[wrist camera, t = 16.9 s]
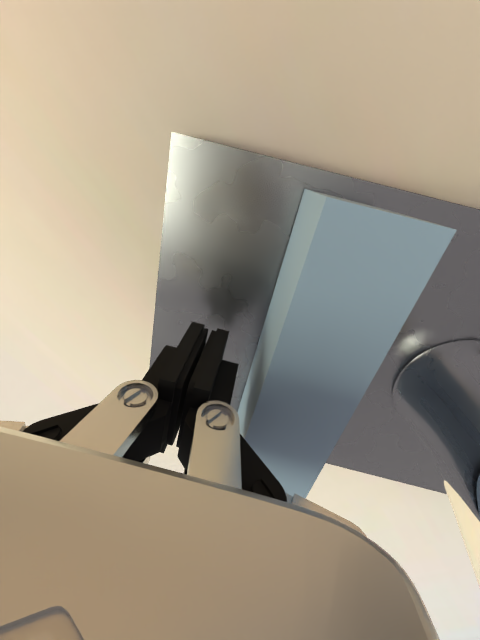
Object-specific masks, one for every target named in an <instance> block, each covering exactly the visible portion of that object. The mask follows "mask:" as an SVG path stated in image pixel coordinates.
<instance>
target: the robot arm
mask: <svg viewBox="0 0 480 640" xmlns="http://www.w3.org/2000/svg"><path fill="white" fill-rule="evenodd" d="M204 327H205V325H204V324H200V323H196V322H192V323H191V324H190V326H189V328H188V329H187V331H186V333H185V334H184V336H183V338H182V340H181V341H180V343H179V345H178V346H177V348H176V347H173V346H169V345H166V346H165V347H164V348H163V350H162V351H161V353H160V354H159V356H158V357H157V359H156V360H155V362H154V363H153V365H152V366H151V367H150V369H149V370H148V372H147V373H146V375H145V376H144V378H143V379H142V380H132V381H127V382H124V383H122V384H120V385H119V386H118V387H116V388H115V389H114V390H113V391H112V392H111V393H110V394H109V395H108V396H107V397H106V398H105V399H104V400H102V401H101V402H100V403H99V404H95V405H92V406H88V407H85V408H81V409H78V410H75V411H71V412H68V413H64V414H61V415H58V416H54V417H51V418H47V419H44V420H41V421H38V422H36V423H33V424H32V425H30V426H25V422H14V421H0V640H439V637H438V634H437V632H436V630H435V628H434V625H433V623H432V621H431V618H430V616H429V614H428V611H427V609H426V607H425V605H424V603H423V601H422V599H421V597H420V595H419V593H418V591H417V589H416V588H415V586H414V584H413V582H412V581H411V579H410V578H409V576H408V575H407V573H406V572H405V570H404V569H403V568H402V567H401V566H400V565H399V564H398V563H397V561H396V560H395V559H394V558H392V557H391V556H390V555H389V554H388V553H387V552H386V551H385V550H384V549H382V548H381V547H380V546H379V545H377V544H376V543H375V542H373V541H372V540H370V539H369V538H367V537H366V535H365V534H364V533H363V532H362V530H361V529H360V528H359V527H358V526H356V525H355V524H353V523H352V522H350V521H348V520H346V519H344V518H342V517H340V516H338V515H337V514H335V513H333V512H331V511H329V510H327V509H325V508H323V507H321V506H319V505H317V504H315V503H313V502H311V501H309V500H307V499H305V498H303V497H301V496H299V495H297V494H295V493H294V495H293V496H291V495H289V494H287V493H285V491H284V489H283V487H282V485H281V484H280V482H279V481H278V480H277V479H276V477H275V476H274V475H273V474H272V472H271V471H270V470H269V469H268V468H267V466H266V465H265V464H264V463H263V461H262V460H261V459H260V458H259V456H258V455H257V454H256V453H255V451H254V450H253V449H252V448H251V447H250V445H249V444H248V443H247V442H246V440H245V439H244V438H243V437H242V435H241V434H240V426H239V416H238V413H237V412H236V410H235V409H234V408H233V407H232V406H231V405H230V404H231V399H232V394H233V390H234V385H235V380H236V375H237V370H238V365H239V364H237V363H233V362H230V361H226V360H222V359H223V355H224V351H225V347H226V343H227V339H228V335H229V331H227V330H223V329H219V328H217V330H216V331H214V330H212V331H211V333H210V336H209V338H208V340H207V343H206V339H207V335H208V329H206V328H204ZM205 344H206V345H205ZM179 427H180V429H179ZM178 430H179V435H178V440H177V445H176V447H179V451H178V458H179V460H180V461H181V463H182V465H183V466H184V473H183V474H182V473H179V472H175V471H171V470H167V469H164V468H160V467H156V466H152V465H148V462H149V460H150V456H152V455H154V454H156V453H158V452H161V453H164V451H165V449H166V446H167V444H168V445H173V443H174V440H175V438H176V435H177V433H178Z"/></svg>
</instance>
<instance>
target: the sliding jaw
mask: <svg viewBox="0 0 480 640" xmlns="http://www.w3.org/2000/svg"><path fill="white" fill-rule="evenodd" d="M456 231H457V230H456V229H453V228H449V227H445V226H442V225H438V224H435V223H431V222H428V221H424V220H421V219H417V218H414V217H410V216H406V215H403V214H399V213H396V212H392V211H389V210H385V209H382V208H378V207H374V206H370V205H366V204H362V203H358V202H355V201H351V200H347V199H343V198H339V197H335V196H331V195H327V194H323V193H319V192H315V191H311V190H307V189H304V193H303V196H302V199H301V203H300V206H299V209H298V213H297V216H296V219H295V223H294V226H293V229H292V233H291V236H290V239H289V243H288V246H287V249H286V253H285V256H284V259H283V263H282V266H281V269H280V273H279V276H278V279H277V283H276V286H275V289H274V292H273V296H272V299H271V302H270V306H269V309H268V312H267V316H266V319H265V322H264V326H263V329H262V332H261V336H260V339H259V342H258V346H257V349H256V352H255V356H254V359H253V362H252V366H251V369H250V372H249V376H248V379H247V382H246V386H245V389H244V392H243V395H242V399H241V402H240V405H239V409H238V412H237V413H238V416H239V426H240V434H241V435H242V437H243V438H244V439H245V440H246V442H247V443H248V444H249V445H250V447H251V448H252V449H253V450H254V451H255V453H256V454H257V455H258V456H259V458H260V459H261V460H262V461H263V463H264V464H265V465H266V466H267V468H268V469H269V470H270V471H271V472H272V474H273V475H274V476H275V477H276V479H277V480H278V481H279V482H280V484H281V485H282V487H283V489H284V491H285V493H287V494H289V495H291V496H293V495H294V493H295V494H297V495H299V496H301V497H303V498H306V496H307V495H308V493H309V491H310V489H311V487H312V486H313V484H314V482H315V480H316V479H317V477H318V475H319V473H320V472H321V470H322V468H323V466H324V464H325V463H326V461H327V459H328V457H329V456H330V454H331V452H332V450H333V449H334V447H335V445H336V443H337V441H338V440H339V438H340V436H341V434H342V433H343V431H344V429H345V427H346V425H347V424H348V422H349V420H350V418H351V417H352V415H353V413H354V411H355V410H356V408H357V406H358V404H359V402H360V401H361V399H362V397H363V395H364V394H365V392H366V390H367V388H368V387H369V385H370V383H371V381H372V379H373V378H374V376H375V374H376V372H377V371H378V369H379V367H380V365H381V363H382V362H383V360H384V358H385V356H386V355H387V353H388V351H389V349H390V348H391V346H392V344H393V342H394V340H395V339H396V337H397V335H398V333H399V332H400V330H401V328H402V326H403V325H404V323H405V321H406V319H407V317H408V316H409V314H410V312H411V310H412V309H413V307H414V305H415V303H416V301H417V300H418V298H419V296H420V294H421V293H422V291H423V289H424V287H425V286H426V284H427V282H428V280H429V278H430V277H431V275H432V273H433V271H434V270H435V268H436V266H437V264H438V263H439V261H440V259H441V257H442V255H443V254H444V252H445V250H446V248H447V247H448V245H449V243H450V241H451V239H452V238H453V236H454V234H455V232H456Z"/></svg>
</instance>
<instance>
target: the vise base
mask: <svg viewBox="0 0 480 640" xmlns="http://www.w3.org/2000/svg"><path fill="white" fill-rule="evenodd" d="M304 189H307V190H311V191H315V192H319V193H323V194H327V195H331V196H335V197H339V198H343V199H347V200H351V201H355V202H358V203H362V204H366V205H370V206H374V207H378V208H382V209H385V210H389V211H392V212H396V213H399V214H403V215H406V216H410V217H414V218H417V219H421V220H424V221H428V222H431V223H435V224H438V225H442V226H445V227H449V228H453V229H456V230H457V231H456V232H455V234H454V236H453V238H452V239H451V241H450V243H449V245H448V247H447V248H446V250H445V252H444V254H443V255H442V257H441V259H440V261H439V263H438V264H437V266H436V268H435V270H434V271H433V273H432V275H431V277H430V278H429V280H428V282H427V284H426V286H425V287H424V289H423V291H422V293H421V294H420V296H419V298H418V300H417V301H416V303H415V305H414V307H413V309H412V310H411V312H410V314H409V316H408V317H407V319H406V321H405V323H404V325H403V326H402V328H401V330H400V332H399V333H398V335H397V337H396V339H395V340H394V342H393V344H392V346H391V348H390V349H389V351H388V353H387V355H386V356H385V358H384V360H383V362H382V363H381V365H380V367H379V369H378V371H377V372H376V374H375V376H374V378H373V379H372V381H371V383H370V385H369V387H368V388H367V390H366V392H365V394H364V395H363V397H362V399H361V401H360V402H359V404H358V406H357V408H356V410H355V411H354V413H353V415H352V417H351V418H350V420H349V422H348V424H347V425H346V427H345V429H344V431H343V433H342V434H341V436H340V438H339V440H338V441H337V443H336V445H335V447H334V449H333V450H332V452H331V454H330V456H329V457H328V459H327V461H326V463H328V464H332V465H336V466H339V467H343V468H347V469H351V470H355V471H359V472H363V473H367V474H371V475H375V476H379V477H382V478H386V479H390V480H394V481H398V482H402V483H406V484H410V485H414V486H418V487H421V488H425V489H429V490H433V491H437V492H441V493H445V494H447V492H446V490H445V487H444V484H443V481H442V479H441V477H440V475H439V473H438V471H437V469H436V467H435V465H434V463H433V461H432V459H431V458H430V456H429V454H428V453H427V451H426V450H425V448H424V447H423V446H422V444H421V443H420V441H419V440H418V439H417V438H416V437H415V435H414V434H413V433H412V432H411V431H410V429H409V428H408V427H407V426H406V425H405V423H404V422H403V421H402V419H401V418H400V417H399V415H398V413H397V412H396V410H395V407H394V404H393V399H392V392H393V387H394V383H395V381H396V379H397V377H398V375H399V374H400V372H401V371H402V370H403V368H404V367H405V366H406V365H407V364H408V363H409V362H410V361H412V360H413V359H414V358H415V357H417V356H418V355H420V354H422V353H423V352H425V351H427V350H429V349H431V348H433V347H436V346H439V345H442V344H445V343H449V342H454V341H461V340H480V210H478V209H475V208H471V207H467V206H463V205H459V204H455V203H451V202H447V201H443V200H439V199H435V198H431V197H427V196H423V195H419V194H415V193H411V192H408V191H404V190H400V189H396V188H392V187H388V186H384V185H380V184H376V183H372V182H368V181H364V180H360V179H356V178H352V177H348V176H344V175H340V174H337V173H333V172H329V171H325V170H321V169H317V168H313V167H309V166H305V165H301V164H297V163H293V162H289V161H285V160H281V159H277V158H273V157H270V156H266V155H262V154H258V153H254V152H250V151H246V150H242V149H238V148H234V147H230V146H226V145H222V144H218V143H214V142H210V141H206V140H202V139H199V138H195V137H191V136H187V135H183V134H179V133H175V132H171V142H170V153H169V164H168V174H167V185H166V196H165V207H164V218H163V228H162V239H161V250H160V261H159V271H158V282H157V293H156V304H155V314H154V325H153V336H152V347H151V358H150V367H151V366H152V365H153V363H154V362H155V360H156V359H157V357H158V356H159V354H160V353H161V351H162V350H163V348H164V347H165V346H166V345H169V346H173V347H176V348H177V346H178V345H179V343H180V341H181V340H182V338H183V336H184V334H185V333H186V331H187V329H188V328H189V326H190V324H191V323H192V322H196V323H200V324H204V325H205V327H204V328H206V329H208V335H207V339H206V343H207V340H208V338H209V336H210V333H211V331H212V330H214V331H216V330H217V328H219V329H223V330H227V331H229V335H228V339H227V343H226V347H225V351H224V355H223V359H222V360H226V361H230V362H233V363H237V364H239V365H238V370H237V375H236V380H235V385H234V390H233V394H232V399H231V404H230V405H231V406H232V407H233V408H234V409H235V410H236V412H238V409H239V405H240V402H241V399H242V395H243V392H244V389H245V386H246V382H247V379H248V376H249V372H250V369H251V366H252V362H253V359H254V356H255V352H256V349H257V346H258V342H259V339H260V336H261V332H262V329H263V326H264V322H265V319H266V316H267V312H268V309H269V306H270V302H271V299H272V296H273V292H274V289H275V286H276V283H277V279H278V276H279V273H280V269H281V266H282V263H283V259H284V256H285V253H286V249H287V246H288V243H289V239H290V236H291V233H292V229H293V226H294V223H295V219H296V216H297V213H298V209H299V206H300V203H301V199H302V196H303V193H304ZM205 345H206V344H205ZM149 369H150V368H149Z"/></svg>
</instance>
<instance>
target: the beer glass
mask: <svg viewBox="0 0 480 640" xmlns="http://www.w3.org/2000/svg"><path fill="white" fill-rule="evenodd" d="M392 399H393V404H394V407H395V410H396V412H397V413H398V415H399V417H400V418H401V419H402V421H403V422H404V423H405V425H406V426H407V427H408V428H409V429H410V431H411V432H412V433H413V434H414V435H415V437H416V438H417V439H418V440H419V441H420V443H421V444H422V446H423V447H424V448H425V450H426V451H427V453H428V454H429V456H430V458H431V459H432V461H433V463H434V465H435V467H436V469H437V471H438V473H439V475H440V477H441V479H442V481H443V484H444V487H445V490H446V492H447V495H448V498H449V500H450V503H451V506H452V509H453V512H454V515H455V518H456V521H457V524H458V527H459V530H460V532H461V535H462V538H463V541H464V544H465V547H466V550H467V553H468V556H469V559H470V562H471V565H472V568H473V570H474V573H475V576H476V579H477V582H478V585H479V588H480V340H461V341H454V342H449V343H445V344H442V345H439V346H436V347H433V348H431V349H429V350H427V351H425V352H423V353H422V354H420V355H418V356H417V357H415V358H414V359H413V360H412V361H410V362H409V363H408V364H407V365H406V366H405V367H404V368H403V370H402V371H401V372H400V374H399V375H398V377H397V379H396V381H395V383H394V387H393V392H392Z"/></svg>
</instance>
